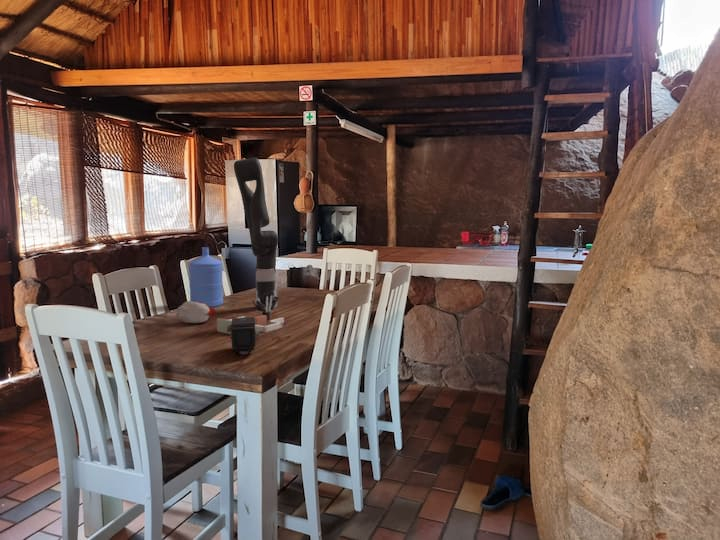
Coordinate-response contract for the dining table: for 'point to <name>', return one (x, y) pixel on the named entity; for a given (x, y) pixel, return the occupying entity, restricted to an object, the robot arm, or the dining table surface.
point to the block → (259, 319)
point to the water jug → (206, 280)
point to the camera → (243, 334)
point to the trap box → (271, 325)
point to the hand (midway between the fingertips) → (266, 320)
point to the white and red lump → (194, 312)
